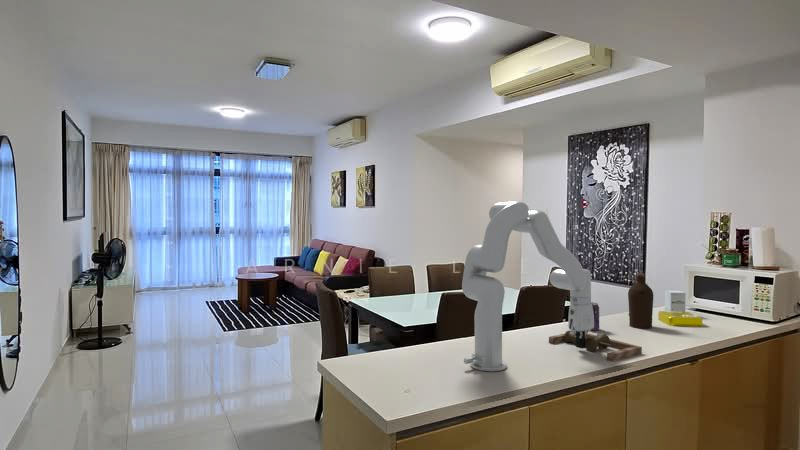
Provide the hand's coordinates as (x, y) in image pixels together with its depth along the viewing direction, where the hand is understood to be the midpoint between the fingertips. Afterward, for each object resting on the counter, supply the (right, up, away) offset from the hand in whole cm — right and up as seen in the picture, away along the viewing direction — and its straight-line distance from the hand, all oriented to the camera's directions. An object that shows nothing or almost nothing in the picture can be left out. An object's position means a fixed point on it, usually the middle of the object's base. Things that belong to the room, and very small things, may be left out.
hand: (580, 347), depth 178 cm
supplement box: (+74, 0, +61) cm, 96 cm away
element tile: (+66, -1, +45) cm, 80 cm away
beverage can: (+18, -1, +34) cm, 38 cm away
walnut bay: (+6, -1, +4) cm, 8 cm away
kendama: (+5, -2, +5) cm, 7 cm away
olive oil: (+43, -1, +38) cm, 58 cm away
